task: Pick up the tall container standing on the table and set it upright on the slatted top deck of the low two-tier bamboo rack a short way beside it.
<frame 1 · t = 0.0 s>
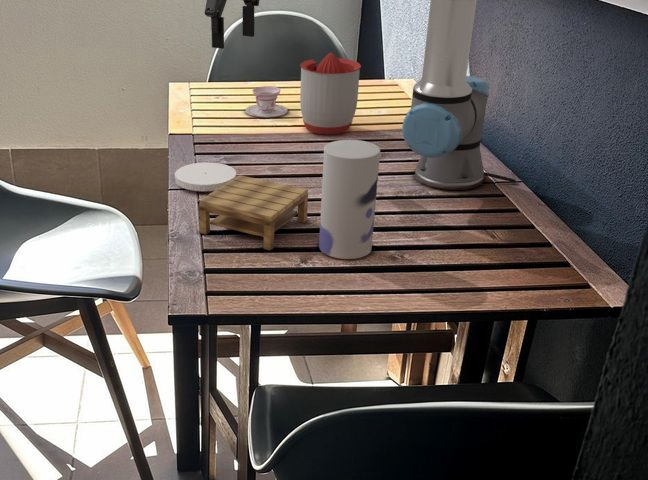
hand: (233, 41, 184), 28 cm above the table, tool pointing down, fingers open, 13 cm apart
container: (345, 249, 156), on the table
citrus juicer: (326, 128, 219), on the table
rack: (254, 226, 164), on the table
teacup: (266, 112, 231), on the table
plastic lid: (205, 184, 185), on the table
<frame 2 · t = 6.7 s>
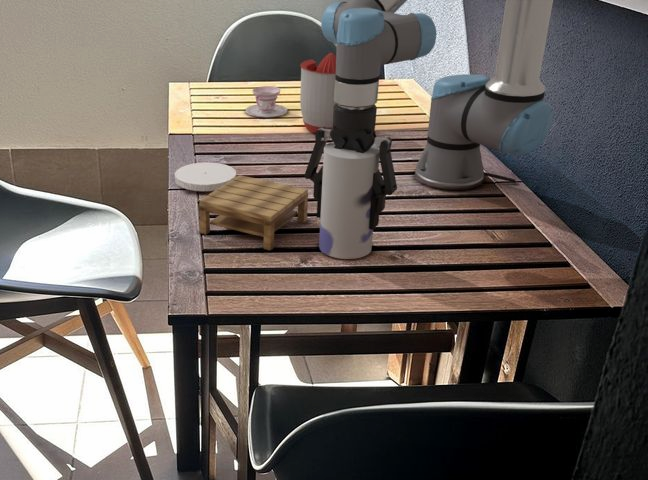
hand: (347, 220, 153), 6 cm above the table, tool pointing down, fingers closed on container, 10 cm apart
container: (345, 249, 156), on the table, touching gripper
everything else where it was.
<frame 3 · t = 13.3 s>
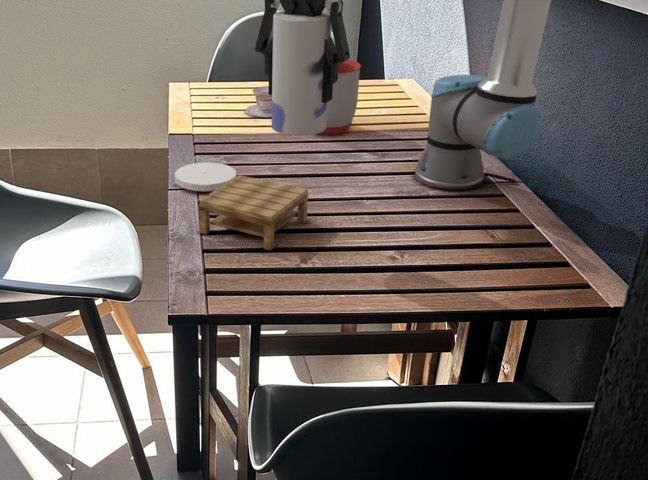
hand: (299, 96, 146), 28 cm above the table, tool pointing down, fingers closed on container, 10 cm apart
container: (298, 128, 149), point 22 cm above the table, touching gripper
everything else where it was.
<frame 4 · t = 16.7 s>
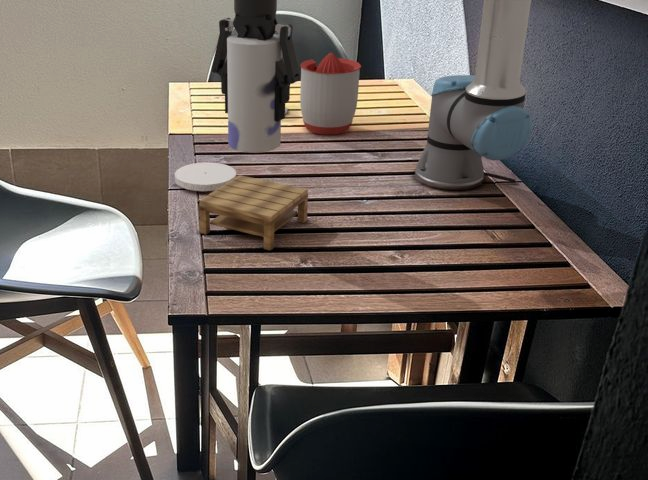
hand: (254, 115, 153), 23 cm above the table, tool pointing down, fingers closed on container, 10 cm apart
container: (254, 145, 156), point 17 cm above the table, touching gripper
everything else where it was.
when the fingers open (13 cm above the table, at t = 20.0 s): container stays where it is, resting on rack.
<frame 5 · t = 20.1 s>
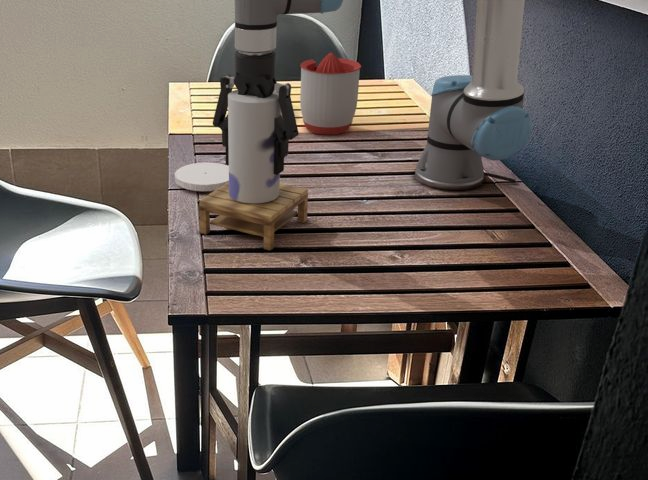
hand: (254, 167, 158), 13 cm above the table, tool pointing down, fingers open, 10 cm apart
container: (254, 195, 161), point 7 cm above the table, touching rack
everything else where it was.
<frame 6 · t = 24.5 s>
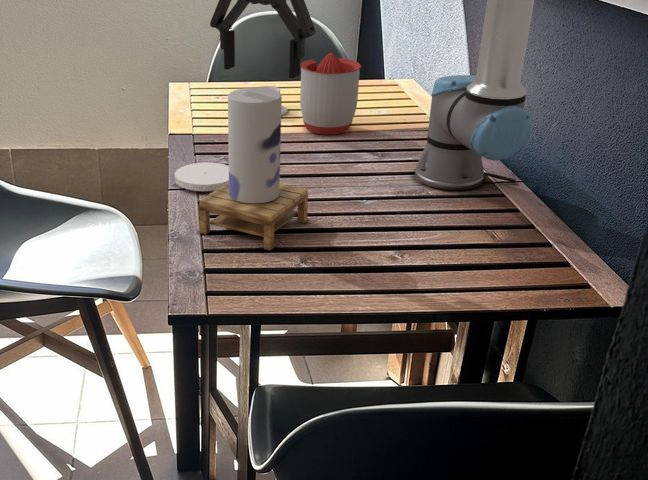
hand: (261, 72, 149), 31 cm above the table, tool pointing down, fingers open, 13 cm apart
nothing on the table moved.
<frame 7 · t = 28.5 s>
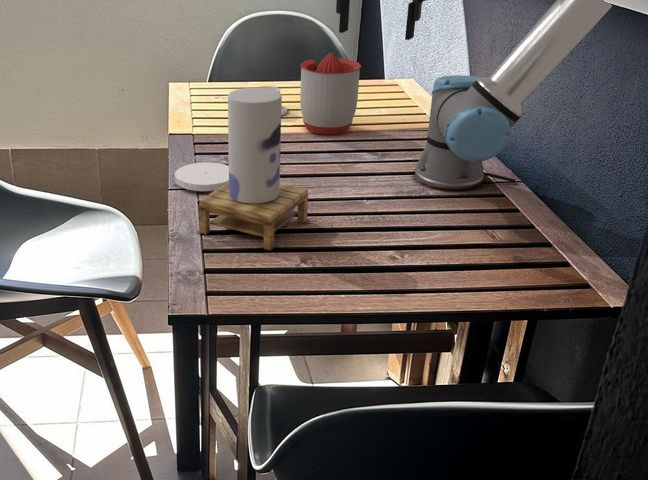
hand: (375, 35, 157), 35 cm above the table, tool pointing down, fingers open, 13 cm apart
nothing on the table moved.
at the end: container inside the target area on the rack (0.0 cm from its centre), point 6.8 cm above the rack's base; container tilted 0° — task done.
